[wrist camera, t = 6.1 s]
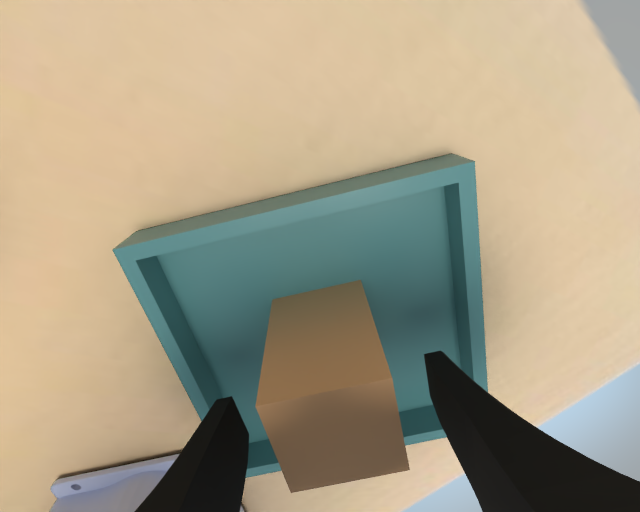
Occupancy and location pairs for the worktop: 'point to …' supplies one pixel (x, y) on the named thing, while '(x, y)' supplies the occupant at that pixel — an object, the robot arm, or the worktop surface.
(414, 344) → the teal tray
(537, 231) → the worktop surface
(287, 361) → the tan rectangular block
